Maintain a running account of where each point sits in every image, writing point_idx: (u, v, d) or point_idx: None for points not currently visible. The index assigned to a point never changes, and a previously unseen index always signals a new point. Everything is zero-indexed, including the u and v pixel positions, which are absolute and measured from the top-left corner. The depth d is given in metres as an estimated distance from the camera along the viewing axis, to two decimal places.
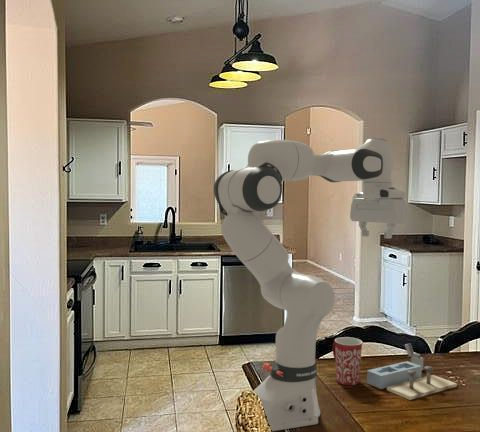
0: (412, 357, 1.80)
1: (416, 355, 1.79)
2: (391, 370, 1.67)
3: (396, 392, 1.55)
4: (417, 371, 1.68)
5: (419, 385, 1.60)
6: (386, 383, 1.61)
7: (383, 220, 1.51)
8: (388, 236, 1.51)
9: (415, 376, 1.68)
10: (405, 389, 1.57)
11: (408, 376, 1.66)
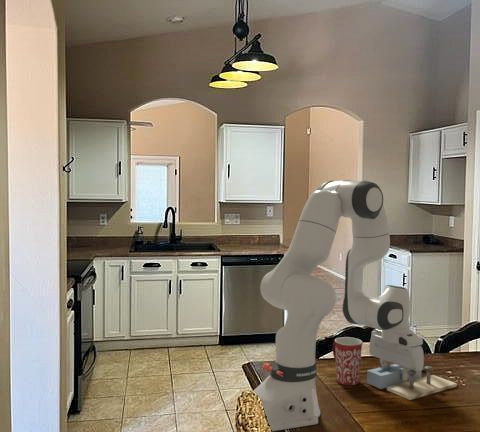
0: None
1: None
2: (391, 370, 1.67)
3: (396, 392, 1.55)
4: (417, 371, 1.68)
5: (419, 385, 1.60)
6: (386, 383, 1.61)
7: (401, 364, 1.62)
8: (403, 378, 1.63)
9: (415, 376, 1.68)
10: (405, 389, 1.57)
11: (408, 376, 1.66)
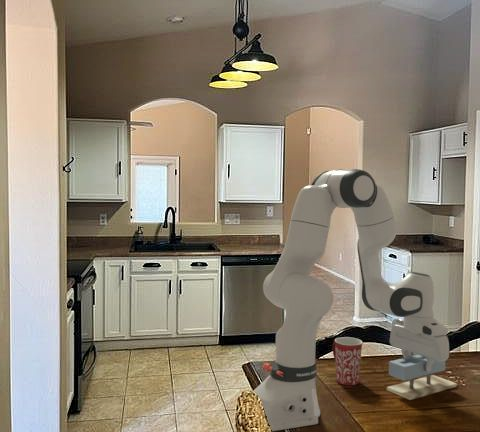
0: None
1: None
2: (414, 361, 1.60)
3: (396, 392, 1.55)
4: (441, 362, 1.60)
5: (419, 385, 1.60)
6: (409, 374, 1.53)
7: (425, 355, 1.54)
8: (427, 369, 1.55)
9: (439, 367, 1.60)
10: (405, 389, 1.57)
11: (432, 367, 1.58)
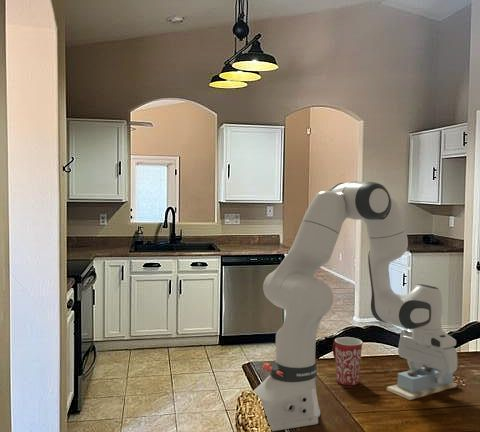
0: None
1: None
2: (422, 373, 1.62)
3: (396, 392, 1.55)
4: (449, 374, 1.63)
5: None
6: (418, 387, 1.55)
7: (434, 366, 1.56)
8: (438, 382, 1.56)
9: (447, 379, 1.62)
10: None
11: None
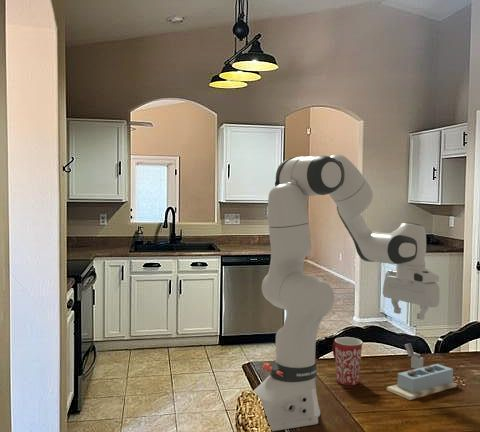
0: (412, 357, 1.80)
1: (416, 355, 1.79)
2: (422, 373, 1.62)
3: (396, 392, 1.55)
4: (449, 374, 1.63)
5: None
6: (418, 387, 1.55)
7: (416, 302, 1.58)
8: (421, 317, 1.58)
9: (447, 379, 1.62)
10: None
11: (440, 379, 1.60)
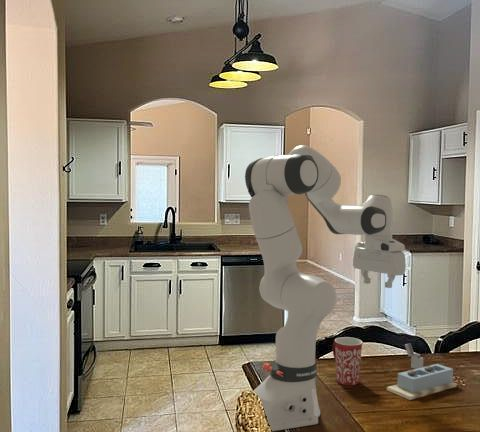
0: (412, 357, 1.80)
1: (416, 355, 1.79)
2: (422, 373, 1.62)
3: (396, 392, 1.55)
4: (449, 374, 1.63)
5: None
6: (418, 387, 1.55)
7: (384, 271, 1.63)
8: (388, 286, 1.63)
9: (447, 379, 1.62)
10: None
11: (440, 379, 1.60)
